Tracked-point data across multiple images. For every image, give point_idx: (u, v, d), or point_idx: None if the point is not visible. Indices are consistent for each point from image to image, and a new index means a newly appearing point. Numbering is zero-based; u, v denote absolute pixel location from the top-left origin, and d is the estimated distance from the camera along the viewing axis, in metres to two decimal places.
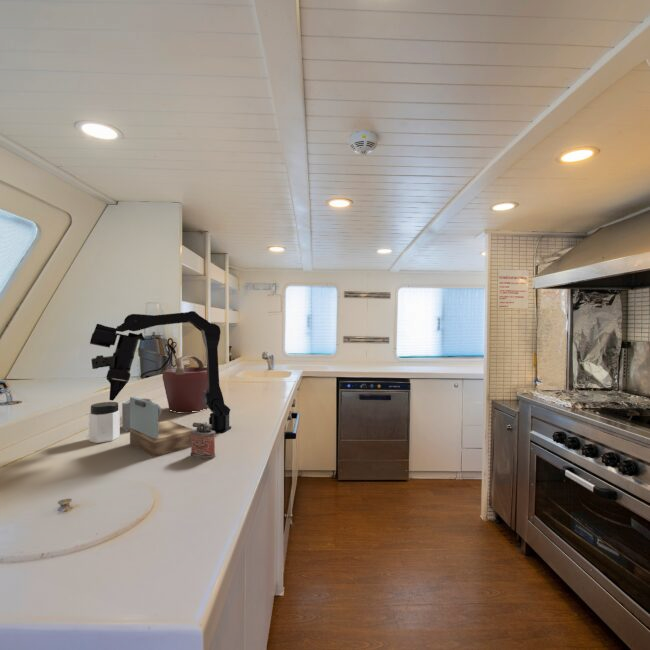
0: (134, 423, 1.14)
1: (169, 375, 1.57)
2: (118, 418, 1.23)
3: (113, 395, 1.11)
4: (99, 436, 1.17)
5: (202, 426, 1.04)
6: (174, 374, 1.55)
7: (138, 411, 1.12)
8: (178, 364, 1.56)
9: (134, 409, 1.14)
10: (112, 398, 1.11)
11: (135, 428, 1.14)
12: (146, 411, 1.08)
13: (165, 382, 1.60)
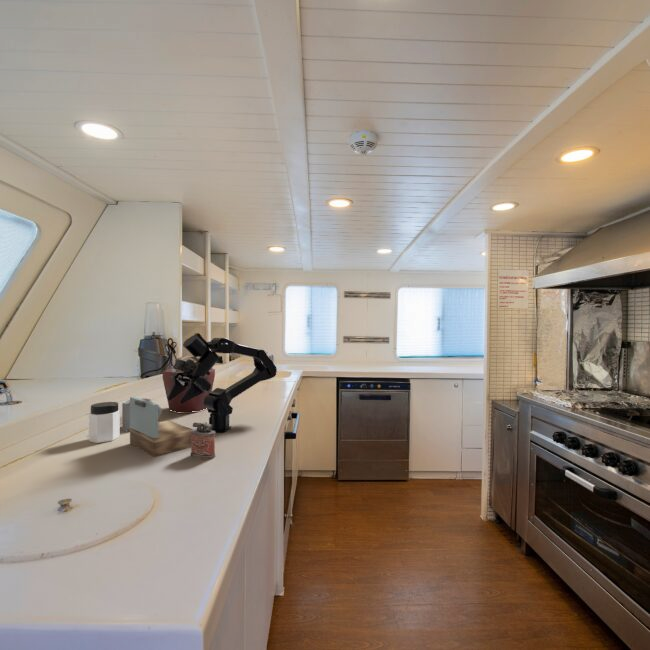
0: (134, 423, 1.14)
1: (169, 375, 1.57)
2: (118, 418, 1.23)
3: (185, 399, 1.16)
4: (99, 436, 1.17)
5: (202, 426, 1.04)
6: None
7: (138, 411, 1.12)
8: None
9: (134, 409, 1.14)
10: (181, 401, 1.16)
11: (135, 428, 1.14)
12: (146, 411, 1.08)
13: (165, 382, 1.60)
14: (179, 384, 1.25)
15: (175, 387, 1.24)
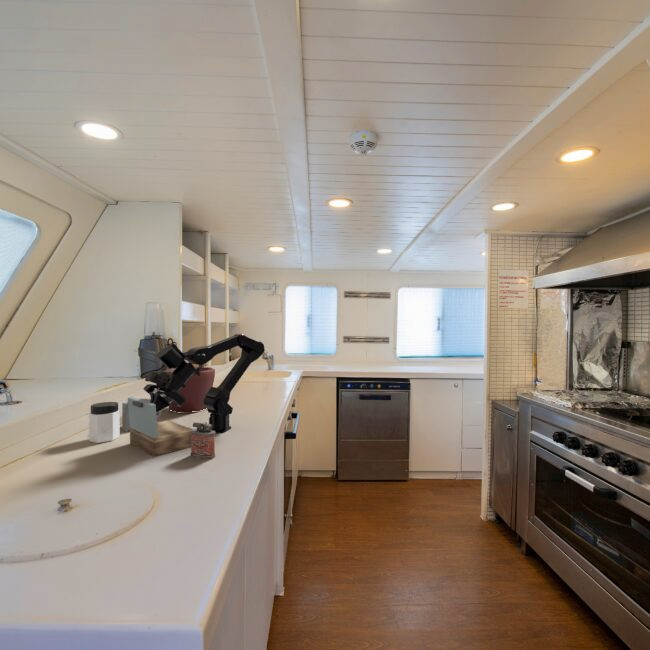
0: (133, 423, 1.14)
1: None
2: (118, 418, 1.23)
3: None
4: (99, 436, 1.17)
5: (202, 426, 1.04)
6: None
7: (136, 411, 1.12)
8: None
9: (132, 409, 1.14)
10: None
11: (135, 428, 1.13)
12: (144, 411, 1.08)
13: None
14: None
15: (152, 402, 1.14)
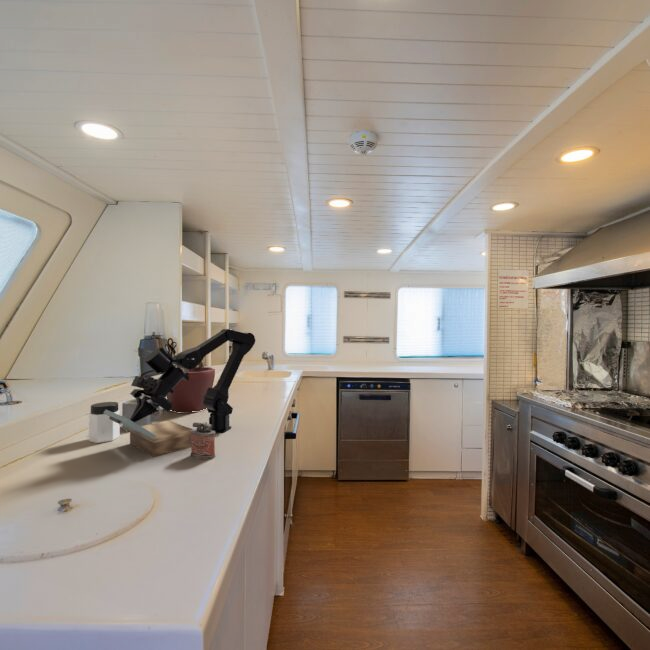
0: (128, 427, 1.13)
1: None
2: None
3: (136, 418, 1.09)
4: (99, 436, 1.17)
5: (202, 426, 1.04)
6: None
7: (121, 422, 1.08)
8: None
9: None
10: None
11: (133, 429, 1.13)
12: (126, 424, 1.04)
13: None
14: None
15: None
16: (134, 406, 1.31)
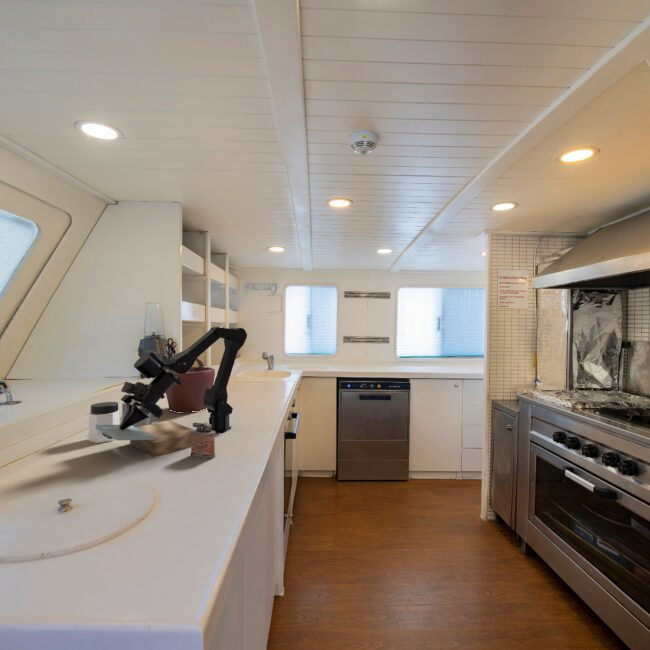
0: None
1: None
2: (118, 418, 1.23)
3: (126, 425, 1.06)
4: (99, 436, 1.17)
5: (202, 426, 1.04)
6: (174, 374, 1.55)
7: None
8: None
9: None
10: (122, 427, 1.06)
11: None
12: None
13: None
14: None
15: None
16: None
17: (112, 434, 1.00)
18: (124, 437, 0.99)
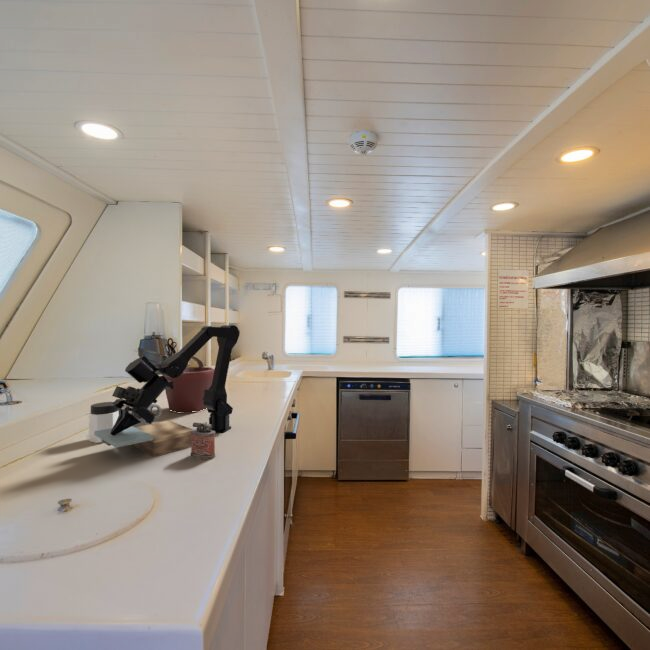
0: None
1: None
2: None
3: (117, 430, 1.05)
4: None
5: (202, 426, 1.04)
6: None
7: None
8: None
9: None
10: (113, 433, 1.04)
11: None
12: None
13: None
14: None
15: None
16: None
17: (110, 441, 0.99)
18: (123, 443, 0.98)
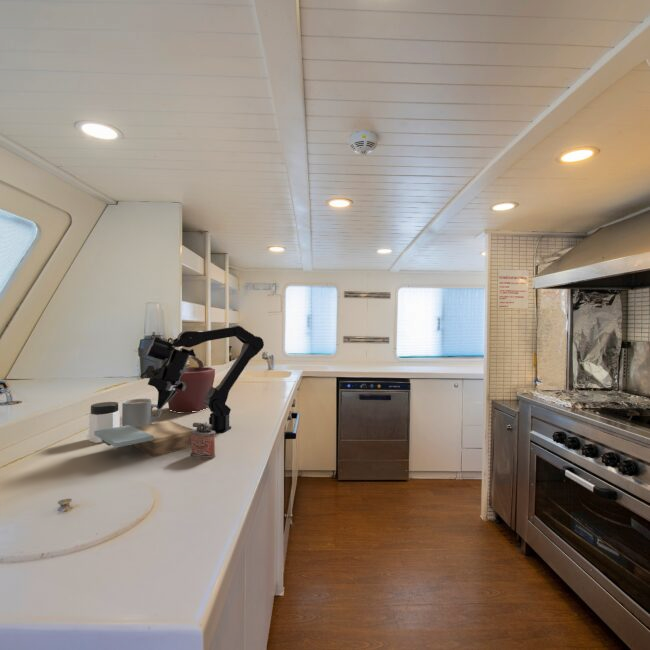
0: None
1: None
2: (118, 418, 1.23)
3: (160, 403, 1.20)
4: None
5: (202, 426, 1.04)
6: None
7: None
8: None
9: None
10: (159, 406, 1.21)
11: None
12: None
13: None
14: None
15: None
16: (134, 406, 1.31)
17: (110, 441, 0.99)
18: (123, 443, 0.98)
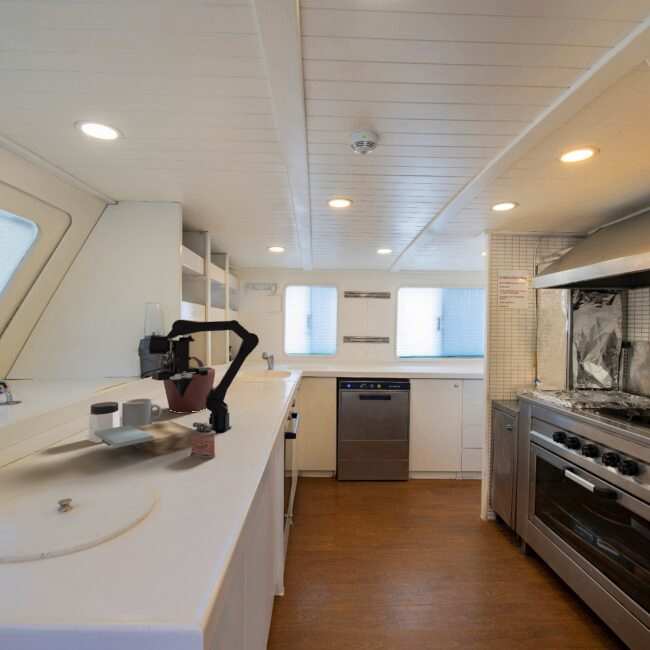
0: None
1: None
2: (118, 418, 1.23)
3: (179, 392, 1.27)
4: None
5: (202, 426, 1.04)
6: None
7: None
8: None
9: None
10: (180, 395, 1.28)
11: None
12: None
13: (165, 382, 1.60)
14: (182, 379, 1.29)
15: None
16: (134, 406, 1.31)
17: (110, 441, 0.99)
18: (123, 443, 0.98)
